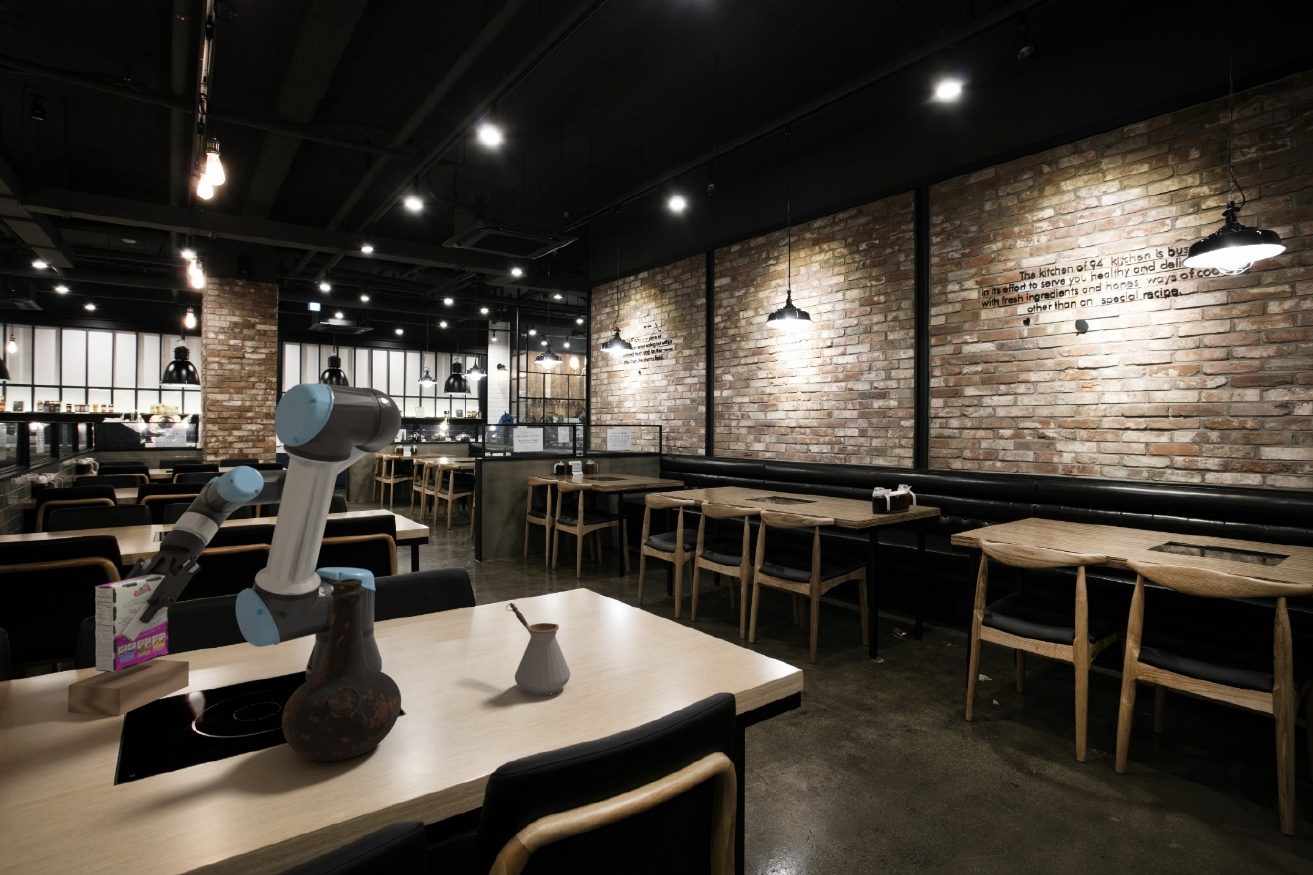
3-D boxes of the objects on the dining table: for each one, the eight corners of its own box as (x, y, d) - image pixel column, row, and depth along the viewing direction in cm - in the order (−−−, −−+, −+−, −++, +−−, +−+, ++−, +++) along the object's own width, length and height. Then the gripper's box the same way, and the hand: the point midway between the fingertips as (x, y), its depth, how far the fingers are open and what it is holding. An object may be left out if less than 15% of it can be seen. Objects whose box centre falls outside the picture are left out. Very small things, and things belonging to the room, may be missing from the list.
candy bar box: (148, 652, 134) (150, 573, 134) (169, 654, 133) (170, 574, 133) (92, 671, 123) (93, 585, 123) (114, 673, 122) (115, 586, 122)
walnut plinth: (188, 685, 135) (188, 661, 135) (119, 715, 120) (120, 688, 120) (142, 682, 136) (142, 658, 136) (68, 711, 121) (68, 684, 121)
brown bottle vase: (274, 785, 96) (276, 597, 96) (288, 735, 112) (291, 574, 113) (402, 763, 103) (405, 587, 103) (399, 718, 119) (401, 567, 120)
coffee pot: (580, 690, 134) (581, 618, 134) (530, 704, 127) (531, 627, 127) (531, 662, 150) (532, 598, 151) (485, 673, 143) (486, 605, 143)
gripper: (235, 549, 142) (168, 648, 126) (162, 547, 145) (87, 643, 128) (216, 529, 137) (143, 628, 121) (140, 526, 139) (59, 624, 123)
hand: (114, 636), depth 124 cm, fingers closed on candy bar box, 5 cm apart
